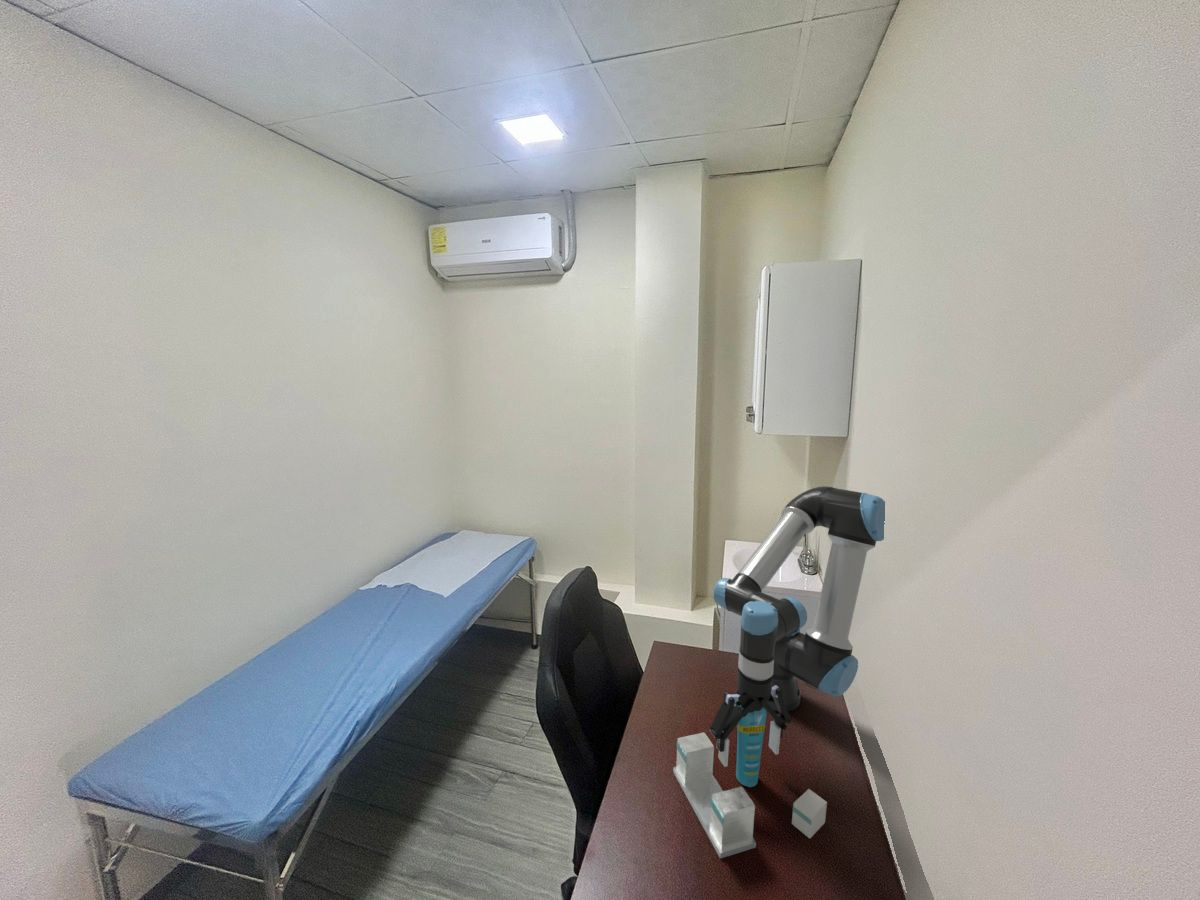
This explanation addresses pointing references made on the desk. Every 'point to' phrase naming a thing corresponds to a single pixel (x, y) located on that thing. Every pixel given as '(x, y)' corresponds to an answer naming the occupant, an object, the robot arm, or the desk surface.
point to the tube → (750, 746)
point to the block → (809, 813)
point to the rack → (714, 798)
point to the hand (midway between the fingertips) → (748, 756)
